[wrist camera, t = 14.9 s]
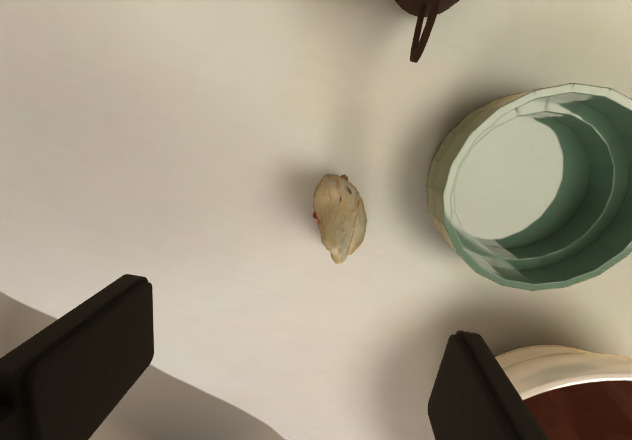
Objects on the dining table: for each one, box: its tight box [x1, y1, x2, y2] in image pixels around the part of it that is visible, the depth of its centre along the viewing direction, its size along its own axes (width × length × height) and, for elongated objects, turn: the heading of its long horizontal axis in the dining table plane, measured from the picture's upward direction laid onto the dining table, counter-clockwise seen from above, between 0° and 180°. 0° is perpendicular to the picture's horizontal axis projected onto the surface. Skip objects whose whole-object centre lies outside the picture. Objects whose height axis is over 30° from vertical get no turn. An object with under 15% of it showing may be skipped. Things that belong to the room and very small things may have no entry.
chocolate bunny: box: [313, 174, 367, 264], centre depth 25 cm, size 6×8×10 cm
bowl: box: [426, 83, 632, 291], centre depth 25 cm, size 15×15×6 cm
